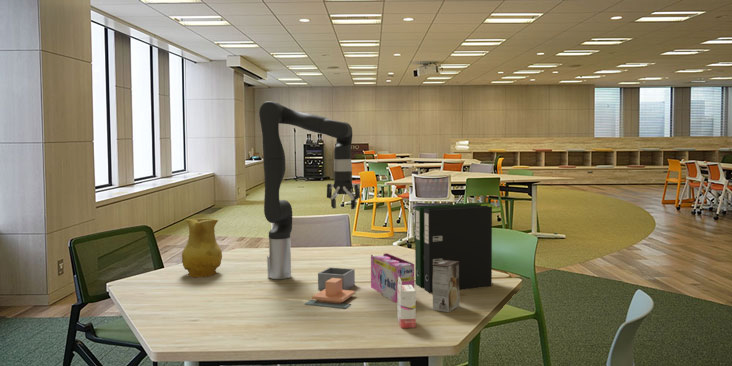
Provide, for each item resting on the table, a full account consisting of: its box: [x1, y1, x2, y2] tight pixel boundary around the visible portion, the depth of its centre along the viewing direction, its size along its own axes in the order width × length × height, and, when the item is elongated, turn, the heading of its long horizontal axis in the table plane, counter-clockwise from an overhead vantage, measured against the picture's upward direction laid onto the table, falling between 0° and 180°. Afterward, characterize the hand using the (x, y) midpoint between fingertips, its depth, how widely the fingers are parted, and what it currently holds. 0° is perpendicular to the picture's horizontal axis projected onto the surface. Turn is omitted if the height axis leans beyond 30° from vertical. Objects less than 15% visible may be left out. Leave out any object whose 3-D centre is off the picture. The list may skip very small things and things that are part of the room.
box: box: [317, 267, 356, 291], centre depth 230 cm, size 11×11×7 cm
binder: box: [414, 203, 493, 294], centre depth 231 cm, size 27×15×32 cm, turn 107°
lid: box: [311, 278, 356, 304], centre depth 213 cm, size 12×12×7 cm
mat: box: [304, 299, 352, 309], centre depth 213 cm, size 16×16×1 cm
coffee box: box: [432, 260, 460, 313], centre depth 202 cm, size 9×6×16 cm
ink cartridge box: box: [396, 276, 417, 329], centre depth 185 cm, size 9×5×15 cm, turn 5°
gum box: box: [370, 252, 415, 304], centre depth 221 cm, size 24×8×14 cm, turn 24°
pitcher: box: [181, 217, 223, 278], centre depth 258 cm, size 17×19×25 cm
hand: (343, 208), depth 243 cm, fingers open, 8 cm apart
